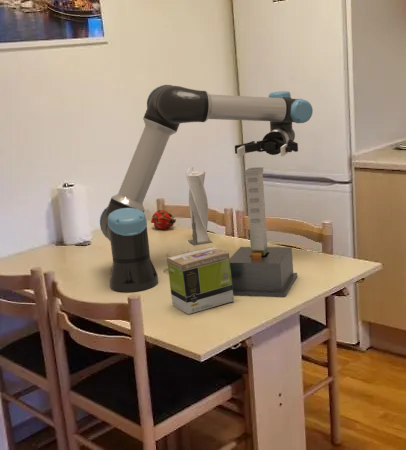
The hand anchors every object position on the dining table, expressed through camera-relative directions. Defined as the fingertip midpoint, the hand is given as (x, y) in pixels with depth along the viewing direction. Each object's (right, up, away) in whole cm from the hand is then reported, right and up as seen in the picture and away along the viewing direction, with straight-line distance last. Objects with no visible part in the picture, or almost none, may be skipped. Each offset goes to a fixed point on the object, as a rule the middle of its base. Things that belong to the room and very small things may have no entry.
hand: (259, 152), depth 212 cm
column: (-1, -30, -6) cm, 31 cm away
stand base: (0, -40, -3) cm, 40 cm away
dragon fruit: (-33, -24, +75) cm, 85 cm away
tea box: (-17, -45, -14) cm, 50 cm away
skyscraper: (-18, -28, +51) cm, 61 cm away
